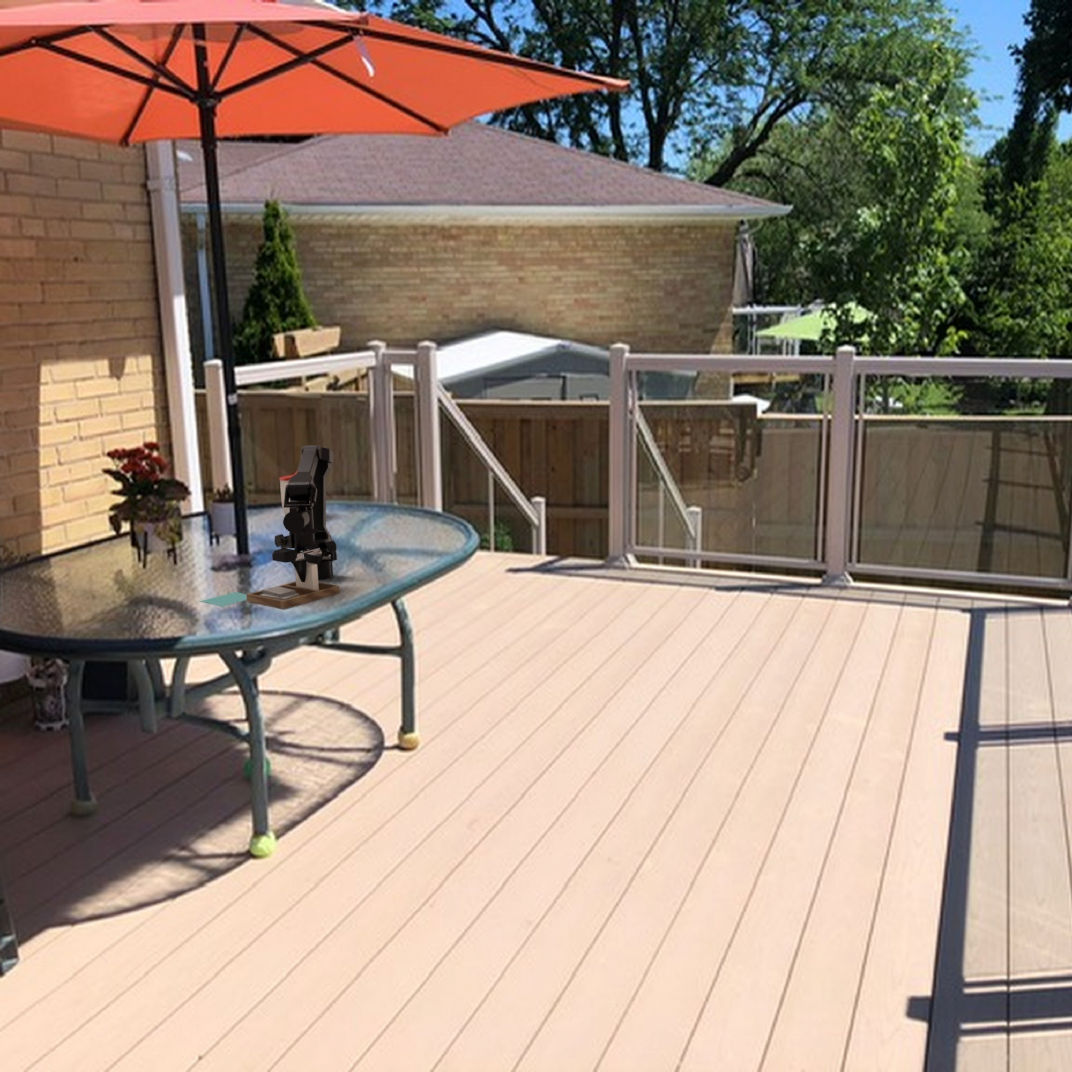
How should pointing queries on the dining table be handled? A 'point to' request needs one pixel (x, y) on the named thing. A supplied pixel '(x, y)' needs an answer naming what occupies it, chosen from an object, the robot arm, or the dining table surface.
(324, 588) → the wooden divided tray
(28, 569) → the dining table surface
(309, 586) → the beige rectangular block
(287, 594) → the offcut stack
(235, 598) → the mat
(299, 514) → the robot arm
